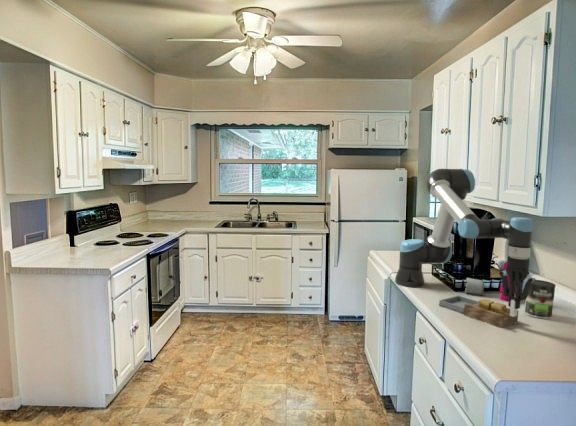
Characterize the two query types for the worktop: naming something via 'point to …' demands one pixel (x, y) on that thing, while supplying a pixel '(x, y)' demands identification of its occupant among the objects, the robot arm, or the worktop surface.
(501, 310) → the yellow cube
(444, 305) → the tray
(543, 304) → the coffee can
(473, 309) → the channel bar
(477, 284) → the ceramic mug
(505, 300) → the pepper mill
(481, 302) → the tan cube
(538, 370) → the worktop surface
